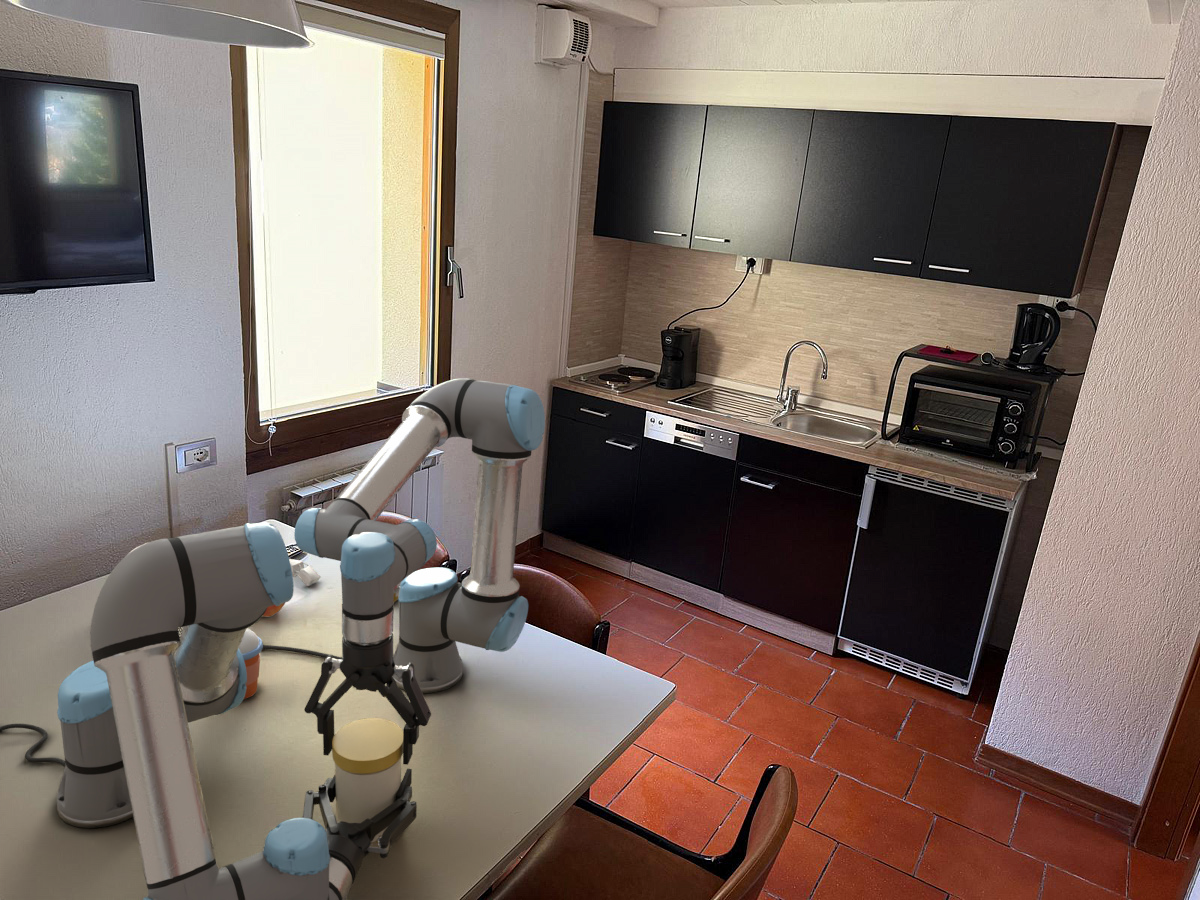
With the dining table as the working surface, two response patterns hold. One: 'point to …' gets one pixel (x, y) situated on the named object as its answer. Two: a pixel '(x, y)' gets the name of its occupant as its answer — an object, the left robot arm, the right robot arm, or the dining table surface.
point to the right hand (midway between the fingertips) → (368, 754)
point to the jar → (365, 793)
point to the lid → (367, 745)
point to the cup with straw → (251, 660)
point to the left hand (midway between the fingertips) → (376, 772)
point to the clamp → (304, 572)
